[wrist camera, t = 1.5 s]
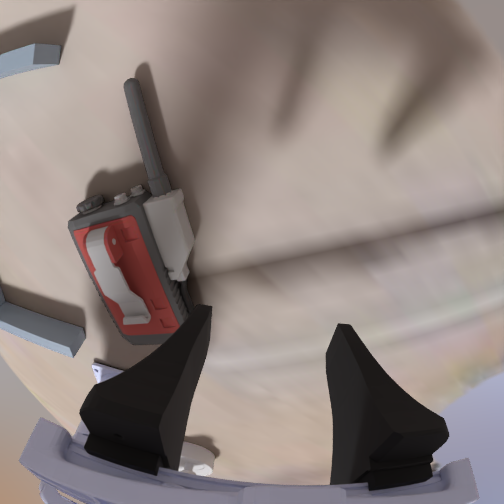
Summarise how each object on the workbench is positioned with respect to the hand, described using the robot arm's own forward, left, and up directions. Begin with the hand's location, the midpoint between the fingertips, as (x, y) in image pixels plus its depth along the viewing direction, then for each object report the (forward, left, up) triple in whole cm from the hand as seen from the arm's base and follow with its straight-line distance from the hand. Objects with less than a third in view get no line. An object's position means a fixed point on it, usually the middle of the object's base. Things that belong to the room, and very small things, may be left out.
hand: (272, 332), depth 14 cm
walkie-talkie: (0, +10, -9) cm, 14 cm away
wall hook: (-37, +7, -9) cm, 39 cm away
